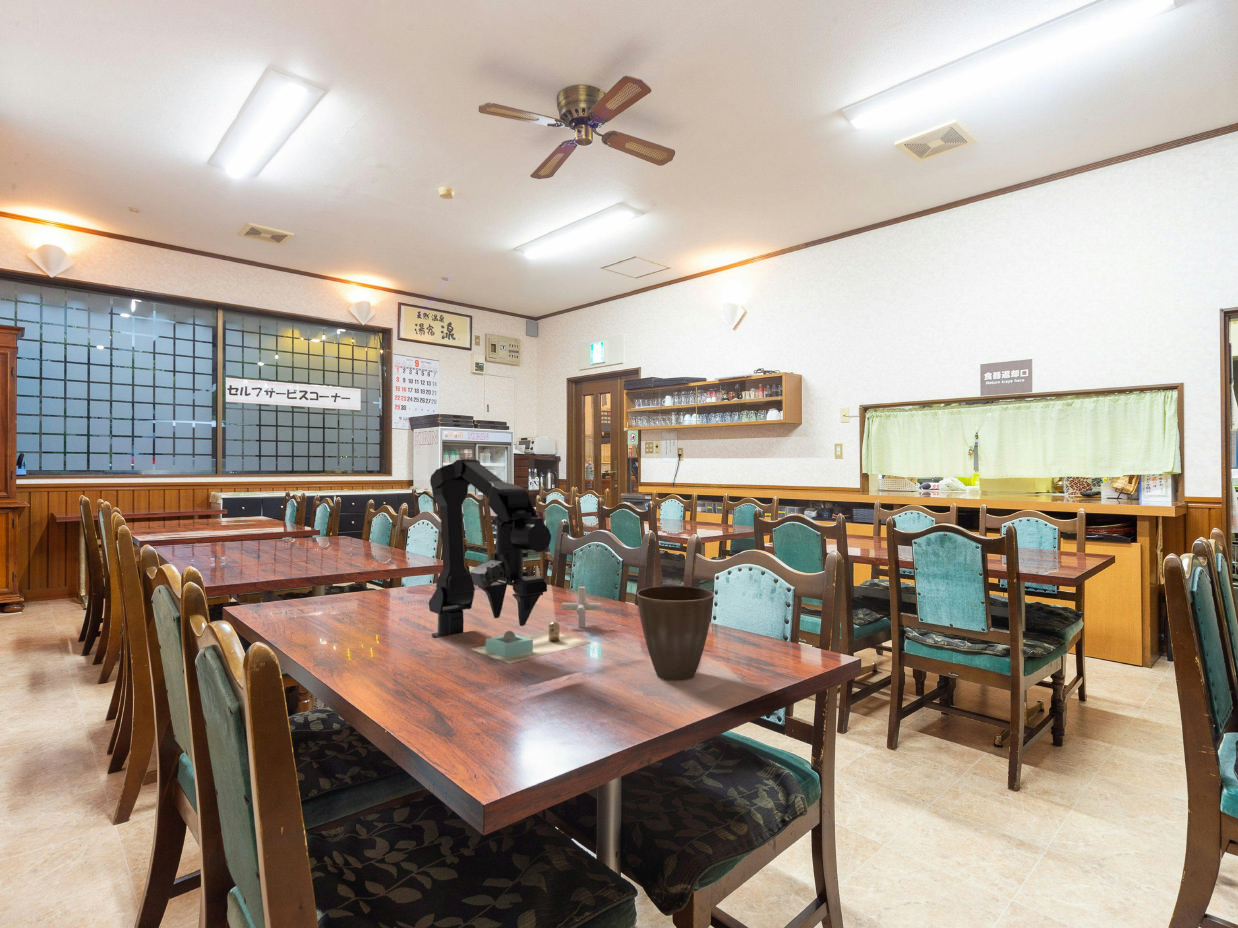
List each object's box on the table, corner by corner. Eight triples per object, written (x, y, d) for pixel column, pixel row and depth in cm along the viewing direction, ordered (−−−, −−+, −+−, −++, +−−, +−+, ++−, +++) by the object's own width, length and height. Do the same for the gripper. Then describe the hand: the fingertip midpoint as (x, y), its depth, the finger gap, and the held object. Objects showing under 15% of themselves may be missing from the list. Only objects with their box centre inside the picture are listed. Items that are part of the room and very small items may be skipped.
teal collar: (485, 650, 135) (485, 638, 135) (513, 644, 140) (513, 633, 140) (504, 658, 130) (505, 645, 130) (532, 651, 135) (532, 639, 135)
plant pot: (666, 693, 115) (666, 603, 115) (621, 670, 127) (622, 589, 127) (729, 679, 123) (730, 595, 123) (681, 659, 135) (682, 583, 135)
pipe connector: (600, 632, 157) (600, 591, 158) (559, 631, 158) (560, 590, 158) (602, 622, 167) (602, 583, 168) (564, 621, 168) (564, 583, 168)
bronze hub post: (546, 640, 144) (546, 621, 144) (554, 638, 145) (554, 620, 145) (553, 642, 142) (553, 623, 142) (561, 640, 143) (561, 621, 144)
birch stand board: (470, 655, 137) (470, 628, 137) (551, 637, 152) (552, 613, 152) (508, 671, 127) (508, 641, 127) (591, 649, 142) (591, 623, 142)
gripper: (452, 546, 136) (451, 620, 136) (503, 555, 123) (502, 637, 123) (497, 542, 144) (496, 612, 144) (549, 550, 131) (548, 627, 131)
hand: (509, 621), depth 135 cm, fingers open, 9 cm apart
